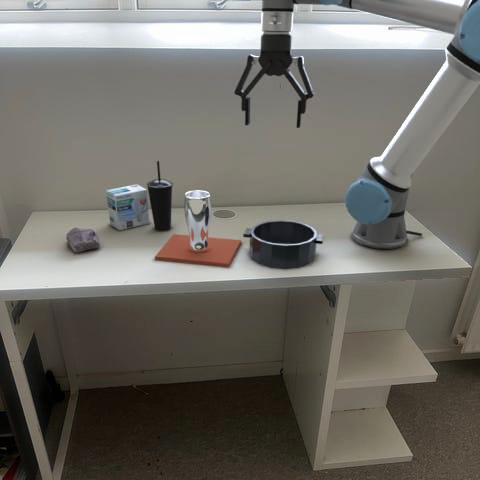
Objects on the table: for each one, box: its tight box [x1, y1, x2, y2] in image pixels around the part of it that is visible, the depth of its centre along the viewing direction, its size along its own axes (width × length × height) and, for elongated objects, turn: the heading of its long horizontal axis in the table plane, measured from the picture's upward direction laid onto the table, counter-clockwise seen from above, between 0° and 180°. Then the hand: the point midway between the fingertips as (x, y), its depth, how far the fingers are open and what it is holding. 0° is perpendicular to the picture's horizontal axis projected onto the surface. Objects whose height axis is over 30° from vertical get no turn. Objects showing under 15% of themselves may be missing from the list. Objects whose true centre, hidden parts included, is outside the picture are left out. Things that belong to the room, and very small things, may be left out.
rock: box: [65, 227, 101, 254], centre depth 140 cm, size 8×11×5 cm
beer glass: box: [184, 190, 212, 252], centre depth 134 cm, size 7×7×15 cm
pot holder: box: [154, 233, 242, 268], centre depth 139 cm, size 20×16×1 cm
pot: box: [242, 219, 325, 270], centre depth 136 cm, size 21×18×6 cm
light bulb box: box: [105, 183, 150, 231], centre depth 153 cm, size 11×7×11 cm, turn 128°
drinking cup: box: [146, 160, 174, 232], centre depth 148 cm, size 8×8×20 cm
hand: (272, 125), depth 133 cm, fingers open, 13 cm apart
